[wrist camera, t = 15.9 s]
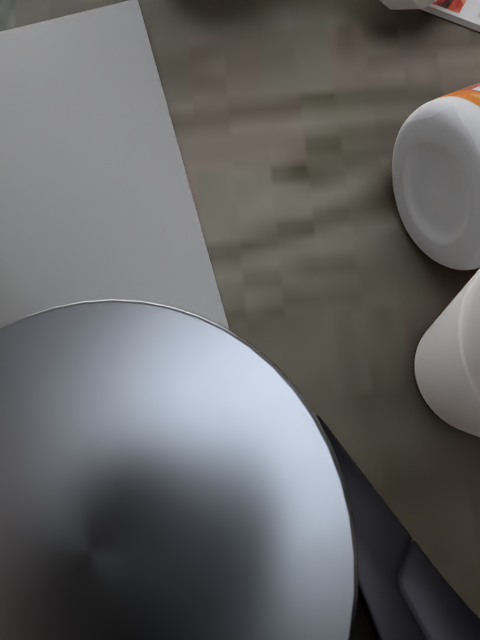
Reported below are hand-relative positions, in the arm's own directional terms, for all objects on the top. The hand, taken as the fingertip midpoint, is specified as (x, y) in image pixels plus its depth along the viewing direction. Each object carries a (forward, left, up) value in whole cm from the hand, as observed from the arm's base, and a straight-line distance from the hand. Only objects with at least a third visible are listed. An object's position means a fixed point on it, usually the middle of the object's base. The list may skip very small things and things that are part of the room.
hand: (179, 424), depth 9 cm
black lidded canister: (-1, 0, -3) cm, 3 cm away
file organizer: (+9, +16, -7) cm, 19 cm away
